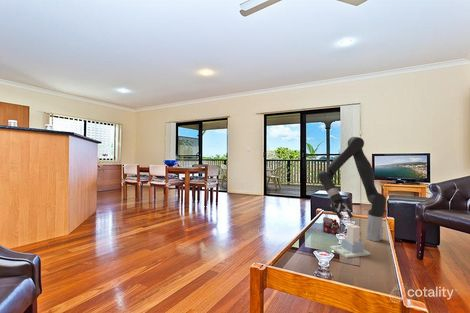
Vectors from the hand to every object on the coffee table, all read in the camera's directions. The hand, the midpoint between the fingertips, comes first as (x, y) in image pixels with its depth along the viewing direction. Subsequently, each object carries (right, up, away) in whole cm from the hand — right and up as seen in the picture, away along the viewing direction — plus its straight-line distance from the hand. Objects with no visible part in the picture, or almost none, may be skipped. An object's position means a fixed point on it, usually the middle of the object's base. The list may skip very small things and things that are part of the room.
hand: (346, 217), depth 159 cm
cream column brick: (+1, -13, -6) cm, 14 cm away
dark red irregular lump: (+1, -18, +27) cm, 32 cm away
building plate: (-1, -19, -6) cm, 20 cm away
